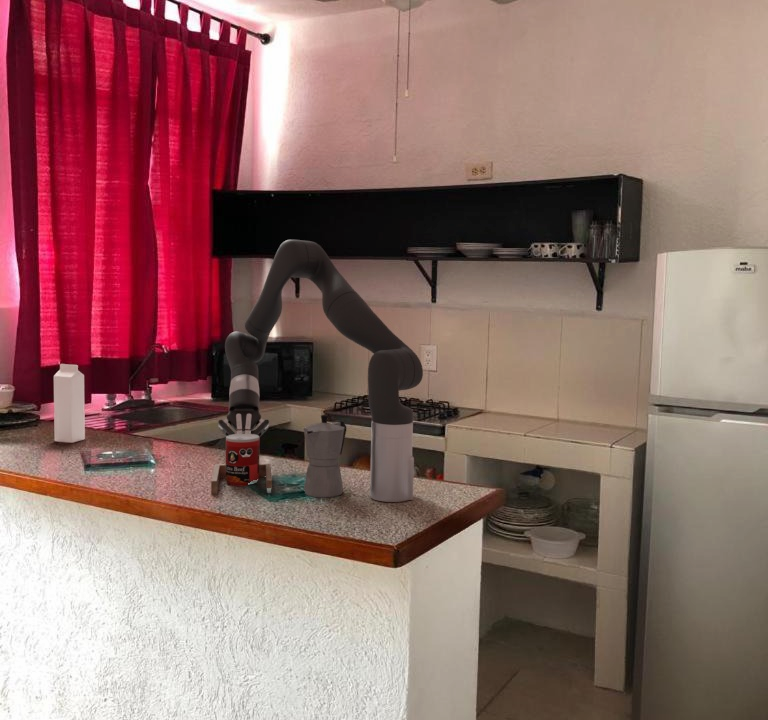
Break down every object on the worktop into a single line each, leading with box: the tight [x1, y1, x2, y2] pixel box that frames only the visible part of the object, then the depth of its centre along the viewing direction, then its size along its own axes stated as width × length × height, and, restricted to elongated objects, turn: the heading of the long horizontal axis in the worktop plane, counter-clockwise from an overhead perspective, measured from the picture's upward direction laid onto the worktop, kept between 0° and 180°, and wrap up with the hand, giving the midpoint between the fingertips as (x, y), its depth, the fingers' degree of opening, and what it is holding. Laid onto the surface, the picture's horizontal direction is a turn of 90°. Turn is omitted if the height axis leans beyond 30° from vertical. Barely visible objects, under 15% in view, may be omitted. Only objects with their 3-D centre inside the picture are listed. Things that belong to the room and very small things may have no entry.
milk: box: [53, 363, 86, 444], centre depth 249 cm, size 6×6×22 cm
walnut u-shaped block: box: [210, 463, 273, 495], centre depth 202 cm, size 13×17×3 cm
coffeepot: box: [303, 413, 347, 498], centre depth 197 cm, size 15×9×18 cm, turn 150°
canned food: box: [225, 433, 261, 487], centre depth 204 cm, size 8×8×11 cm
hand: (243, 454), depth 209 cm, fingers closed
